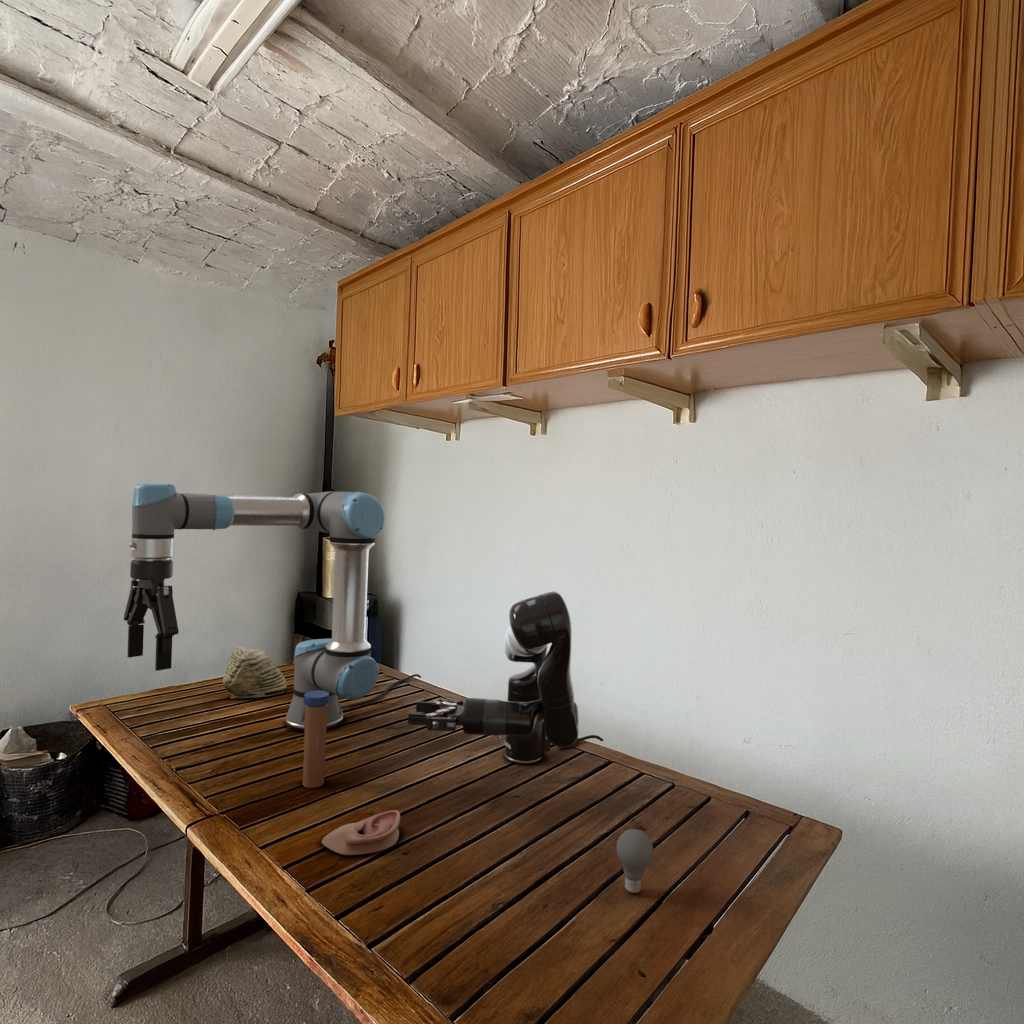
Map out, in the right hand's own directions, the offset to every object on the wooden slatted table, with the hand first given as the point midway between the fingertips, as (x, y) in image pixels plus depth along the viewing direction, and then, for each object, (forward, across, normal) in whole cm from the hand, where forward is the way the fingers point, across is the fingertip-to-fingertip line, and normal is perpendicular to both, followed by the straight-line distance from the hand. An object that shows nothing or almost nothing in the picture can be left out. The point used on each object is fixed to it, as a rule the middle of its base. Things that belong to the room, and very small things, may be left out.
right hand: (412, 712), depth 138 cm
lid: (+21, 0, -2) cm, 22 cm away
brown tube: (+21, -1, +17) cm, 27 cm away
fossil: (+61, -57, +16) cm, 85 cm away
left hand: (+52, +12, -11) cm, 55 cm away
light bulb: (-44, +30, +18) cm, 57 cm away
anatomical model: (+4, +21, +18) cm, 28 cm away
